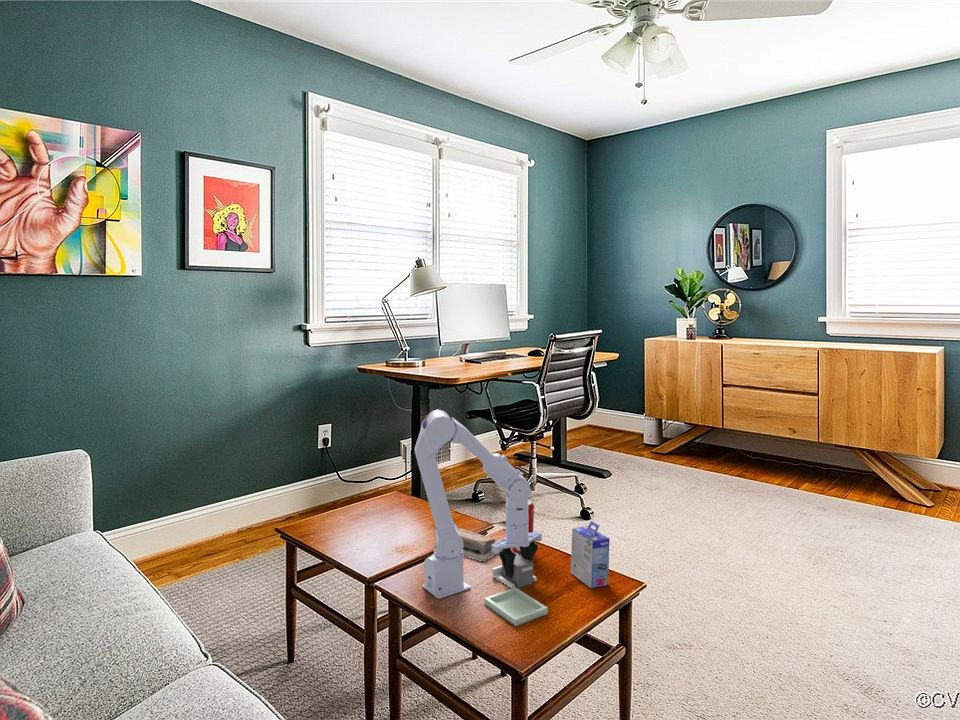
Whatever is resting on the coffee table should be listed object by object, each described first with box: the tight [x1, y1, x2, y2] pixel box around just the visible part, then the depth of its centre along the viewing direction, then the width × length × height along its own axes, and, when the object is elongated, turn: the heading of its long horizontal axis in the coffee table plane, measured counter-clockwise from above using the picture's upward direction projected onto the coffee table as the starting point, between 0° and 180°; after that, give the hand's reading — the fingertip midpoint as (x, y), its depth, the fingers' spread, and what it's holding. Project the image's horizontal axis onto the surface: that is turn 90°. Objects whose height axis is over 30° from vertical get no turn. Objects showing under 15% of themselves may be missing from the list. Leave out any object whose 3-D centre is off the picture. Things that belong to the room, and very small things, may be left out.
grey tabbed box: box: [501, 552, 534, 589], centre depth 153 cm, size 5×8×6 cm, turn 34°
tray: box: [484, 586, 549, 627], centre depth 140 cm, size 9×12×2 cm
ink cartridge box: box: [570, 520, 610, 589], centre depth 154 cm, size 10×6×14 cm, turn 24°
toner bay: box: [491, 564, 538, 589], centre depth 155 cm, size 9×8×2 cm
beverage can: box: [511, 498, 535, 555], centre depth 171 cm, size 6×6×15 cm
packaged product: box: [434, 527, 496, 562], centre depth 174 cm, size 18×5×10 cm
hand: (517, 573), depth 154 cm, fingers closed on grey tabbed box, 5 cm apart
